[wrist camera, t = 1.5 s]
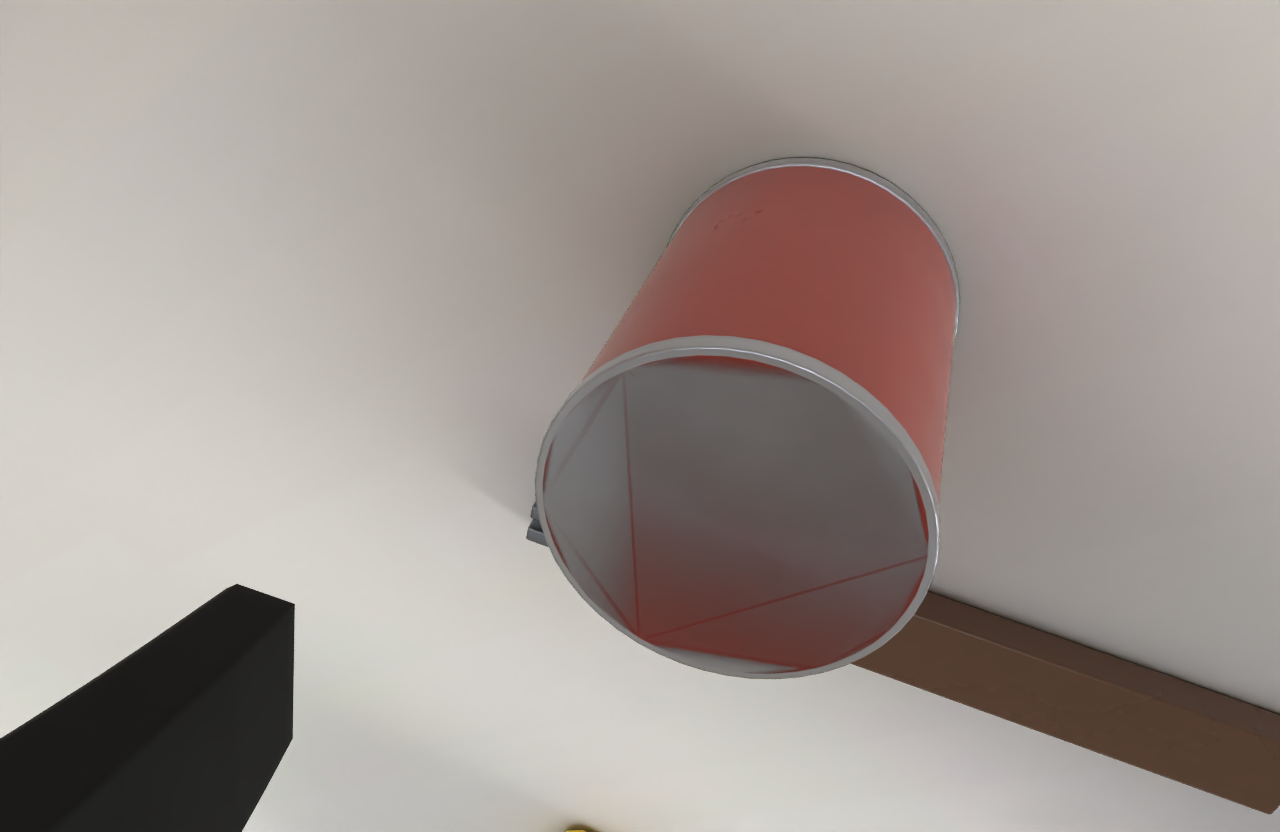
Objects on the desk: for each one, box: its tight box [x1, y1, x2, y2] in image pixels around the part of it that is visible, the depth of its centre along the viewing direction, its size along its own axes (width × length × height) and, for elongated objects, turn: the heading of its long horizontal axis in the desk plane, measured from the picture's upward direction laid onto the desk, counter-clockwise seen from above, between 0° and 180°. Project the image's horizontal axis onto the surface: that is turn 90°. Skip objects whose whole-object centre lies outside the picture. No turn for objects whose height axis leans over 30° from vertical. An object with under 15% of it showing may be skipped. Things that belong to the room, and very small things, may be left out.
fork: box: [526, 492, 1280, 814], centre depth 22 cm, size 15×2×1 cm, turn 77°
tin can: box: [535, 158, 960, 679], centre depth 17 cm, size 5×5×6 cm
